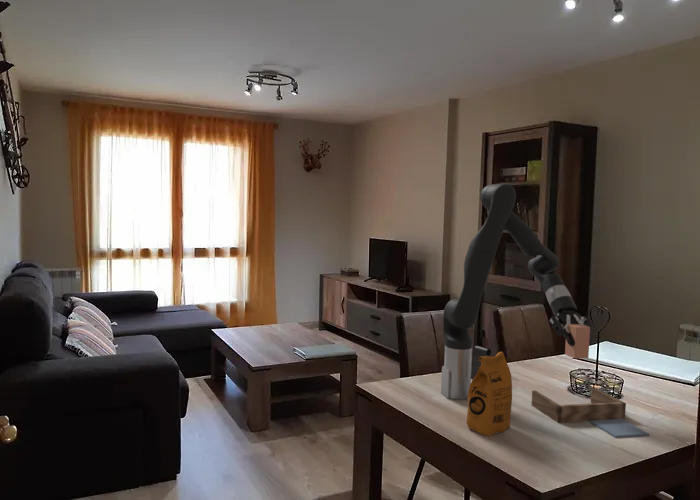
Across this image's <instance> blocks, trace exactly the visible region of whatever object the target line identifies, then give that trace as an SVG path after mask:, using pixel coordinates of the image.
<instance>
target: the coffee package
mask: <svg viewBox="0 0 700 500" xmlns="http://www.w3.org/2000/svg"><path fill="white" fill-rule="evenodd" d="M478 360H479V361H481V366H480V367H479V370H478V373H477V375H476V376H475V377H474V379H471V384H470V387H469V391H468V398H467V410H466V411H467V412H466V422H465V423H466V425H467V427H468V429H469V430H473V431H474V432H476V433H478V434H480V435H483V436H486V437H491V436H493V435H494V434H497V433H499V434H500V433H502V434H503V433H505V431H507V430H508V429H510V428H511V416H512V415H511V414H512V404H513V379H512V373H511V371H510V366H509V365H508V362H507V358H506V357H505V354H504V352H503V351H499V352H497V354H496V355H495V356H491V357H486V356H484V357H482V356H480V357H479V358H478Z"/></svg>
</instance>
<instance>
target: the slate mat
mask: <svg viewBox="0 0 700 500" xmlns="http://www.w3.org/2000/svg"><path fill="white" fill-rule="evenodd" d="M589 423H590V424H592V425H593V426H595V427H596V428H598V429H600V430H602V431H603V432H605V433H607V434H608V435H610V436H612V437H613V438H616V439H618V438H631V437H645V436H646V437H648V436H650V433H649V432H647V431H645V430H643V429H642V428H639V426H638V427H637V426H635V424H632V423H630V422H629V421H627V420H625V419H612V420H595V421H589Z"/></svg>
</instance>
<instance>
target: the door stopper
mask: <svg viewBox="0 0 700 500" xmlns="http://www.w3.org/2000/svg"><path fill="white" fill-rule="evenodd" d="M473 348H474V349H473V356H472V362H471V380H473V379H474V377H475V376H476V375H477V373H478V370H479V367H480V366H481V361H479V360H478V358H479V357H480V356H482V357H484V356H486V357H492V349H491V348H488V347H485V346H480V345H475V346H474V347H473Z"/></svg>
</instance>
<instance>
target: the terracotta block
mask: <svg viewBox="0 0 700 500" xmlns="http://www.w3.org/2000/svg"><path fill="white" fill-rule="evenodd" d="M569 329H570V333H571V334H572V336H573V339H574V341H575V345H574V346H570V345H569V344H568V342H567V340H566V339H565V346H564V347H565V349H564V355H566V356H567V357H569V358H570V357H571V358H572V359H588V358H589V354H590V353H589V352H590V345H589V339H591V337H590V334H591V332H590V327H588V326H585V325H582V324H570V325H569Z"/></svg>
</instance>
